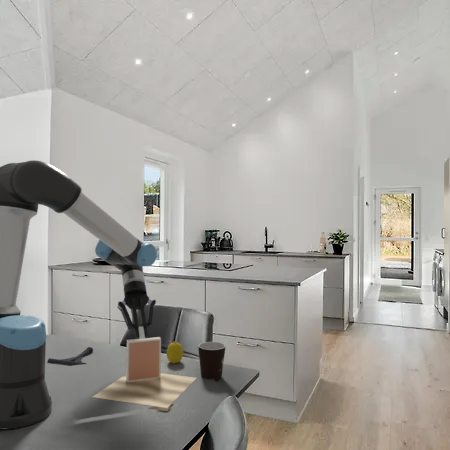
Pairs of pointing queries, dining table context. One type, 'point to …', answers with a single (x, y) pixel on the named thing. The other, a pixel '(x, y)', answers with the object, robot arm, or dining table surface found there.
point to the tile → (143, 359)
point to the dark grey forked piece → (72, 360)
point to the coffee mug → (211, 359)
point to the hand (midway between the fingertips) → (142, 347)
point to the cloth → (148, 391)
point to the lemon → (174, 352)
